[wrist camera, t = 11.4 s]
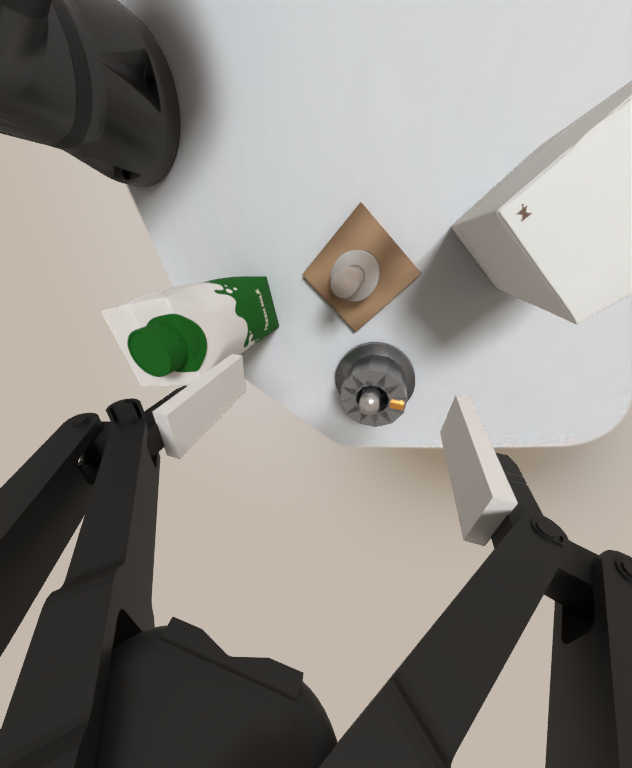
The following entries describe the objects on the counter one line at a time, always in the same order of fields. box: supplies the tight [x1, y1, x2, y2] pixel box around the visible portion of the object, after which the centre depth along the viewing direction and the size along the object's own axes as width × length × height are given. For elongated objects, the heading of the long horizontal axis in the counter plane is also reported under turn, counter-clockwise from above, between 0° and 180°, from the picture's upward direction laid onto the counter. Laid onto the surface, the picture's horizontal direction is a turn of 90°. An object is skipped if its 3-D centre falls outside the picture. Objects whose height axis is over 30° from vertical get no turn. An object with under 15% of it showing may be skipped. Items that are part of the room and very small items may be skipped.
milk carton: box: [101, 277, 279, 387], centre depth 29 cm, size 9×9×20 cm
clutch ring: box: [340, 354, 407, 427], centre depth 34 cm, size 8×8×5 cm
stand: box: [302, 202, 421, 332], centre depth 27 cm, size 10×10×10 cm
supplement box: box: [451, 81, 632, 324], centre depth 19 cm, size 9×9×15 cm
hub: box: [336, 342, 415, 415], centre depth 34 cm, size 11×11×8 cm
